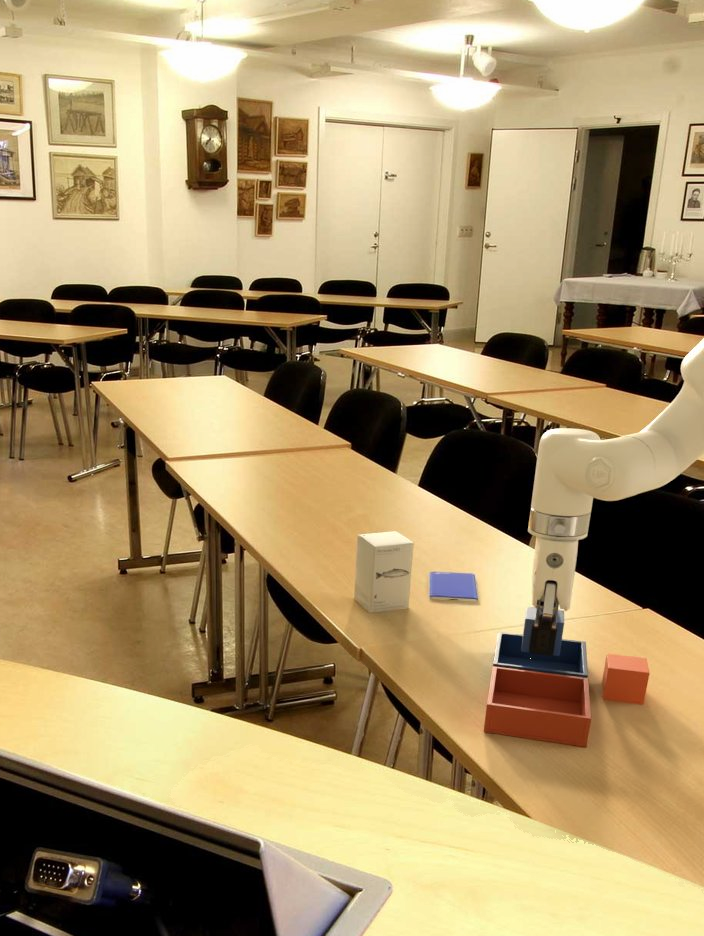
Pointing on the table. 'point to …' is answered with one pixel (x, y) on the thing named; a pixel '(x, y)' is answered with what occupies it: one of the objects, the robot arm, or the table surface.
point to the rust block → (625, 679)
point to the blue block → (531, 621)
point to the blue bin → (541, 657)
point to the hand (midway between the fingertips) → (541, 644)
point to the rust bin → (538, 706)
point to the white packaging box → (383, 571)
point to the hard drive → (452, 586)
